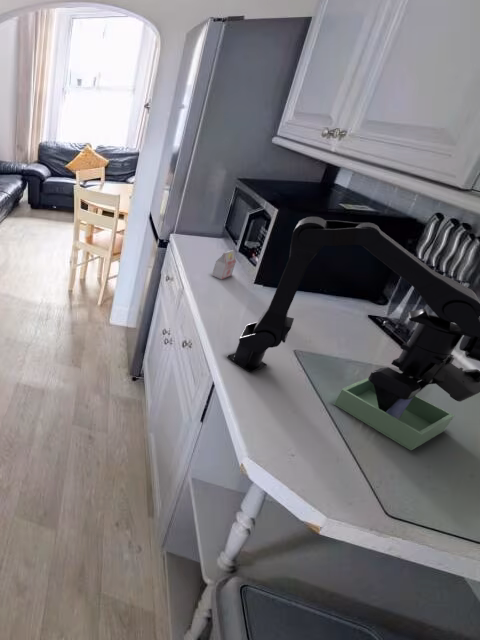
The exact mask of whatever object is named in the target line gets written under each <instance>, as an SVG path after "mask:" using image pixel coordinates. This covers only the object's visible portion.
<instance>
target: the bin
mask: <svg viewBox="0 0 480 640" xmlns="http://www.w3.org/2000/svg"><path fill="white" fill-rule="evenodd" d="M368 378H369V377H366V378H364V379H362V380H359V381H358V382H355V383H353V384H350V385H348V386H345V387H344V388H341V390H340V392H339V394H338V396H337V398H336V400H335V401H334V403H333V406H336V407H338V408H339V409H341V410H342V411H344V412H346V413H347V414H349V415H351V416H352V417H354V418H356V419H357V420H359V421H361V422H362V423H364V424H365V425H367V426H368V427H371V428H372V429H374V430H375V431H377V432H379V433H380V434H382V435H384V436H386V437H387V438H388V439H391V440H392V441H394V442H395V443H397V444H399V445H400V446H402V447H404V448H406V449H407V450H409V451H413V450H414V449H416V448H418V447H420V446H422V445H424V444H425V443H426V442H428V441H430V440H431V439H433V438H435V437H437V436H438V435H440V434H442V433H443V432H445V431H446V429H447V428H448V426H449V425H450V423H451V422H452V421H453V419H454V417H455V416H456V415H455V414H453V413H451V412H449V411H447V410H446V409H443V408H442V407H440V406H437V405H435V404H433V403H431V402H429V401H428V400H426V399H424V398H422V397H420V396H418V395H417V394H416V395H415V397H413V399H412V400H411V402H410V403H409V404H408V406H407V407H406V409H405V410H404V412H403V413H402V415H401V417H400V418H399V420H398V419H397V418H395V417H393V416H391V415H389V414H388V413H386V412H384V411H382V410H381V409H379V407H378V402H377V397H376V392H375V388H374V385H373V383H371V382H370V381H369V380H368Z"/></svg>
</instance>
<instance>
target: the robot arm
mask: <svg viewBox="0 0 480 640" xmlns="http://www.w3.org/2000/svg"><path fill="white" fill-rule="evenodd" d="M324 246H325V247H339V246H341V247H342V246H360V247H363V248H364V249H365V250H367V251H368V252H369V253H370V254H371V255H373V256H374V257H375V258H376V259H378V260H379V261H380V262H382V263H383V264H384V265H385V266H387V267H388V268H389V269H390V270H392V272H394V273H395V274H397V276H399V277H401V279H403V280H404V281H405V282H407V283H408V284H409V285H410V286H412V287H413V288H414V290H415V291H416V292H417V293H418V294H419V296H420V297H421V298H422V300H423V302H424V303H425V304H426V305H427V306H428V307H429V309H430V310H432V312H433V313H434V314H435V315H434V314H431V313H429V312H428V310H427V309H426V308H425V307H423V308H421V309H417V310H416V309H415V310H410V311H409V310H408V312H407V315H408V320H409V321H410V322H413V323H418V324H417V325H416V327H415V329H414V330H413V333H412V334H411V336H410V338H409V339H408V341H407V342H404V343H402V344H401V346H400V349H401V350H402V351H401V353H400V354H399V356H398V358H395V359H393V360H392V362H391V364H390V365H392V366H394V367H396V368H397V369H398V370H399V371H397V370H395V369H392V368H391V367H389V366H388V367H381V368H378V369H375V370H373V371H371V372H370V375H369V376H368V377H367V378H368V380H369V381H370V382H371V383H373V385H374V388H375V392H376V397H377V402H378V407H379V409H381V410H382V411H384V412H387V411H388V410H389V409H390V408H391V407H392V406H393V405H394V404H395V403H396V402H397V401H399V400H400V399H404V400H408V399H411V398H413V397H415V395H416V396H417V394H419V393H420V392H422V390H424V389H425V388H426V387H428V386H429V385H437V386H438V387H439V388H440V389H442V390H443V391H444V392H446V394H448V395H449V397H450V398H452V399H453V400H454V401H456V402H463V401H466V400H467V399H469V398H471V397H473V396H475V395H476V396H477V395H478V394H479V393H480V370H479V369H477V368H473V369H464V368H463V367H458V366H456V365H455V364H453V361H454V360H455V357H454V354H452V353H453V352H454V350H455V349H456V347H457V345H458V344H459V350H460V351H462V352H464V356H465V357H466V358H467V359H470V360H474V361H477V362H480V299H479V297H478V295H477V294H476V293H475V291H473V290H472V288H471V289H470V287H467V286H465V285H464V284H462V283H460V282H458V281H456V280H454V279H453V278H451V277H448V276H446V275H443V274H440V272H437V271H435V270H433V269H432V268H431V267H429V266H428V265H427V264H425V262H423V261H421V260H420V259H419V258H417V257H416V256H415V255H414V254H412V253H411V252H410V251H408V250H407V249H406V248H404V247H403V246H402V245H401V244H399V242H397V241H395V239H393V238H392V237H390V236H389V235H387V234H386V233H385V232H384V231H382V230H381V229H380V227H379V226H378V225H377V224H376V223H372V222H369V221H368V222H353V221H346V220H345V221H344V220H336V219H335V220H334V219H332V220H330V219H329V220H328V219H324V218H322V217H319V216H306V217H305V218H302V219H300V220H299V221H298V223H297V224H296V226H295V228H294V230H293V232H292V235H291V240H290V248H289V255H288V256H289V257H288V260H287V263H286V264H285V268H284V270H283V272H282V275H281V277H280V280H279V281H278V282H279V283H278V284H277V287H276V290H275V292H274V295H273V297H272V299H271V302H270V304H269V305H268V307H267V308H266V309H265V311H264V312H263V313H262V315H261V316H260V317H259V319H258V320H257V321H256V322H255V321H254V322H252V323H248V324H246V325H245V326H244V329H243V330H242V333H241V335H240V336H239V338H238V344H237V346H236V350H235V352H234V353H230V354H228V355H227V356H226V357H227V359H228V360H230V361H232V362H233V363H234V364H236V365H238V366H239V367H241V368H242V369H244V370H246V371H247V372H249V373H253V372H256V371H259V370H261V369H264V368H266V367H267V366H268V364H267V363H265V362H264V361H263V359H264V356H265V354H266V351H267V350H268V349H269V348H277V347H278V346H280V344H281V343H283V344H285V343H286V341H287V337H288V336H289V332H290V331H291V329H292V326H293V323H294V320H295V317H290V316H288V315H289V314H288V313H289V310H290V307H291V305H292V303H293V301H294V298H295V296H296V293H297V291H298V289H299V287H300V284H301V283H302V280H303V278H304V275H305V273H306V271H307V269H308V266H309V264H310V263H311V262H312V261H313V259H314V258H315V256H317V254H318V253H319V251H320V250H321V249H322V248H323V247H324ZM459 342H460V343H459Z"/></svg>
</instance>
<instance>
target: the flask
mask: <svg viewBox="0 0 480 640" xmlns="http://www.w3.org/2000/svg"><path fill="white" fill-rule="evenodd" d="M412 399H413V398H411V399H408V400H404V399H400V400H399V401H397V402H396V403H395V404H394V405H393V406H392V407H391V408H390V409H389V410H388V411H387V412H386V413H388V414H389V415H391V416H393V417H395V418H397V419H398V420H399V418H400V417H401V415H402V413H403V412H404V410H405V409H406V407H407V406H408V404H409V403H410V402H411V400H412Z"/></svg>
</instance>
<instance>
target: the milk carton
mask: <svg viewBox="0 0 480 640" xmlns="http://www.w3.org/2000/svg"><path fill="white" fill-rule="evenodd" d="M236 263H237V259H236V249H231V250H228V251H225V252H223V253H222V255H221V256H220V257H218V259H217V260H215V263H214V267H213V269H212V272H211V276H213V277H215V278H217V279H219V280H224V279H227V278H229V277H232V275H233V272H234V269H235V266H236Z"/></svg>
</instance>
